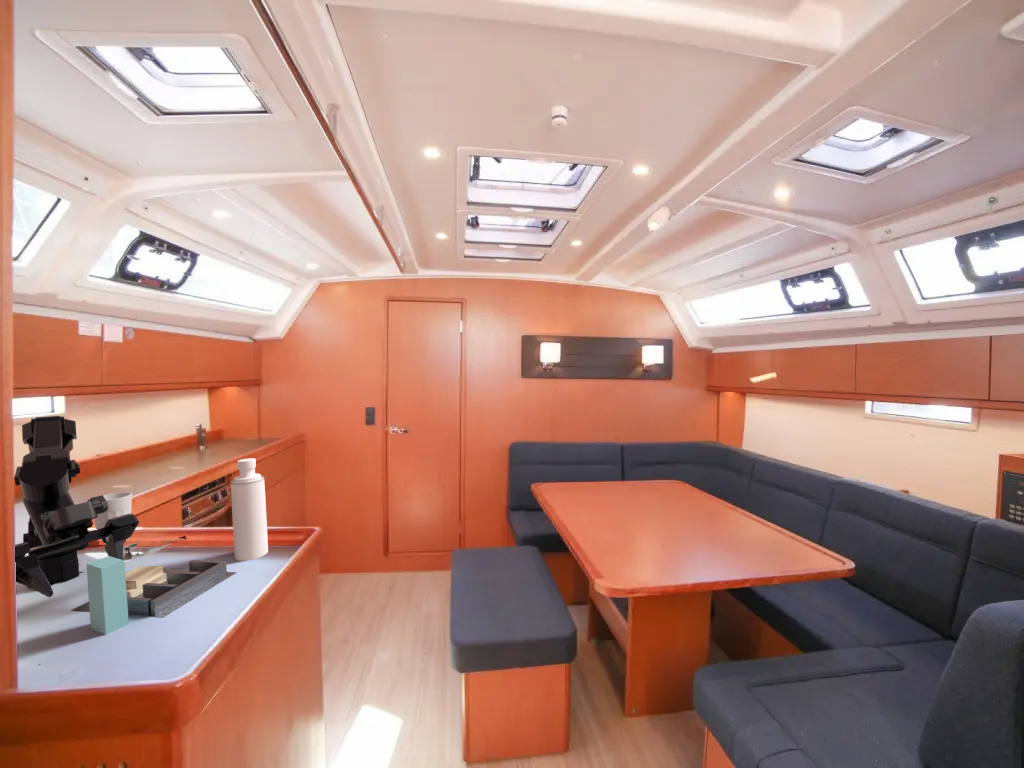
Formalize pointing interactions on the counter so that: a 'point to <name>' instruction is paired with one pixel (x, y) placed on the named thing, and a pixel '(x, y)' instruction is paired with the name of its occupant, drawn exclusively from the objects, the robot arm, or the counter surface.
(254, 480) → the white bottle
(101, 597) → the teal block
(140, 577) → the upper offcut
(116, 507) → the cup
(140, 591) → the lower offcut
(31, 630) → the counter surface
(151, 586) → the tray
